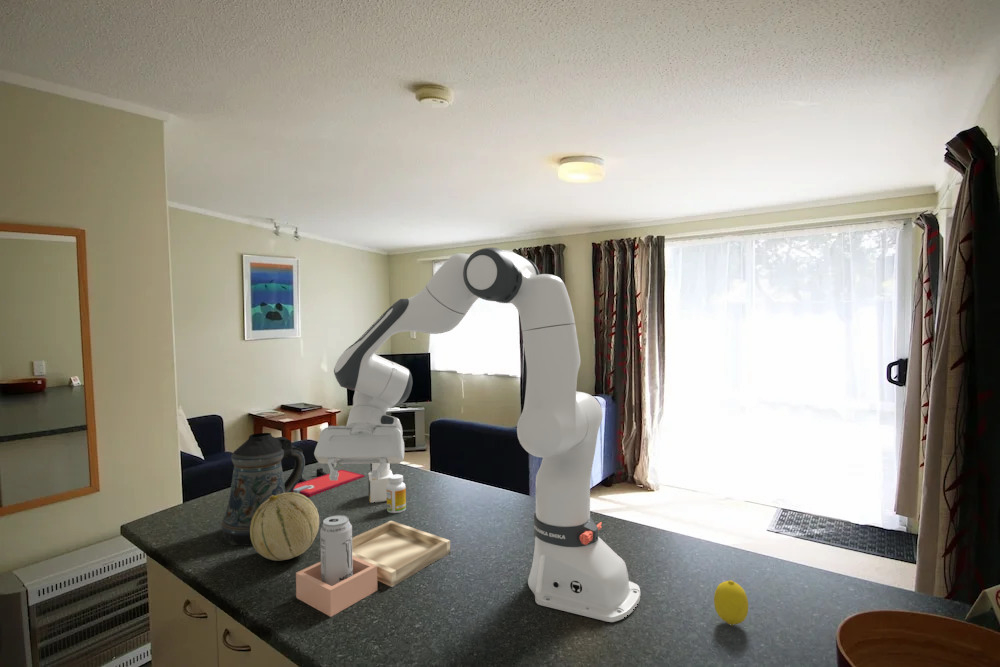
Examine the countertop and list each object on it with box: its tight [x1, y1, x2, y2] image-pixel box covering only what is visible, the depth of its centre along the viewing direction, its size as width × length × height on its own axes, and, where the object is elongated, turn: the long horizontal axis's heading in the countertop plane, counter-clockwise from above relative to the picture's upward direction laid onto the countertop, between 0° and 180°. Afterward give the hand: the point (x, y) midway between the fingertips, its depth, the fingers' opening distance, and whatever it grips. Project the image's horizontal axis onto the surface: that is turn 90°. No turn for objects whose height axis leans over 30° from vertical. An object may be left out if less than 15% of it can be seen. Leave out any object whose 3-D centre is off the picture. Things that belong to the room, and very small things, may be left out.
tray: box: [352, 520, 451, 588], centre depth 116 cm, size 20×18×3 cm
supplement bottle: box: [386, 473, 407, 514], centre depth 144 cm, size 5×5×10 cm
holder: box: [295, 556, 378, 618], centre depth 100 cm, size 11×11×5 cm
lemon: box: [713, 579, 749, 626], centre depth 90 cm, size 6×6×8 cm
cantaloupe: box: [250, 492, 320, 562], centre depth 116 cm, size 15×15×15 cm
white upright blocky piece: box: [367, 463, 394, 504], centre depth 153 cm, size 7×7×12 cm
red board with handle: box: [291, 467, 365, 498], centre depth 165 cm, size 30×3×15 cm
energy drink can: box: [319, 514, 353, 586], centre depth 100 cm, size 6×6×15 cm
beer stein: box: [220, 432, 306, 546], centre depth 131 cm, size 16×19×25 cm
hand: (354, 479), depth 112 cm, fingers open, 8 cm apart
